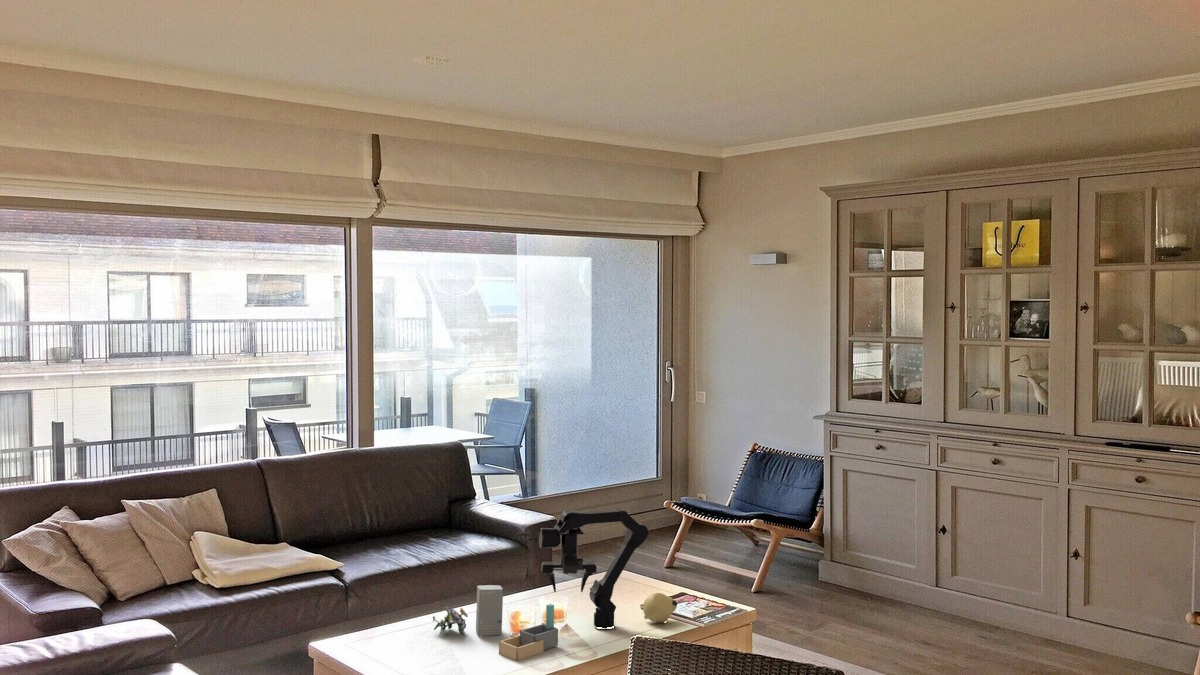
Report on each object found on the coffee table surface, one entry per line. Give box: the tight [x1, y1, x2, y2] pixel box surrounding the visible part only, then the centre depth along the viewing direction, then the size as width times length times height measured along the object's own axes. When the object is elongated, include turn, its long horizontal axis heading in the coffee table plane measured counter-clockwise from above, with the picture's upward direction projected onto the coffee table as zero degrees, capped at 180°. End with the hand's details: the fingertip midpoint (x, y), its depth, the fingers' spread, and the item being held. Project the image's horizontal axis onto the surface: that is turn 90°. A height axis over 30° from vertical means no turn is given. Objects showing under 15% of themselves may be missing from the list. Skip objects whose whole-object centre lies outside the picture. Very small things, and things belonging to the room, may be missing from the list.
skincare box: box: [475, 584, 504, 638], centre depth 331 cm, size 8×7×16 cm
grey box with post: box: [519, 603, 559, 651], centre depth 317 cm, size 11×7×13 cm, turn 136°
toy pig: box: [642, 592, 678, 624], centre depth 345 cm, size 10×12×11 cm
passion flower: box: [432, 606, 468, 636], centre depth 329 cm, size 11×11×12 cm
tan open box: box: [498, 634, 544, 662], centre depth 311 cm, size 11×9×4 cm
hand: (568, 592), depth 335 cm, fingers open, 9 cm apart
